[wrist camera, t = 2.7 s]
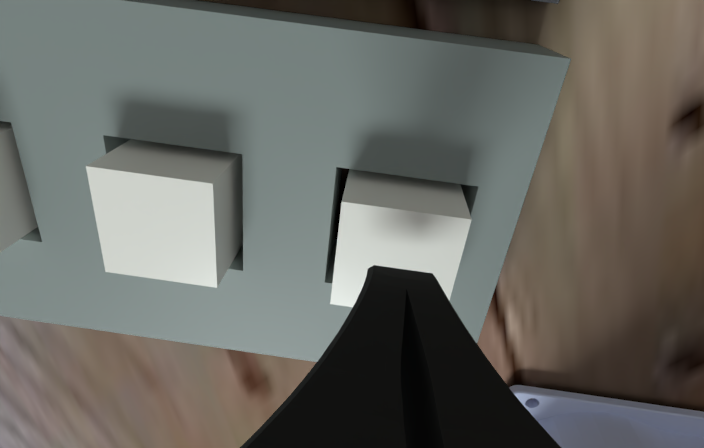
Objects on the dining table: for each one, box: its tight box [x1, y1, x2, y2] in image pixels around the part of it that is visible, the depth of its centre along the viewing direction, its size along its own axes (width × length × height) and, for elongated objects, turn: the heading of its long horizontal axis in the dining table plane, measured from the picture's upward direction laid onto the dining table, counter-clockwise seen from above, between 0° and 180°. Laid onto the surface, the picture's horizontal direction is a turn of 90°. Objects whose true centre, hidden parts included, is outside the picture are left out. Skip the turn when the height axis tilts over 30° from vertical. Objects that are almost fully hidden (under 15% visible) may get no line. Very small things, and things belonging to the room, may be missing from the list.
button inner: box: [330, 169, 472, 307], centre depth 12 cm, size 3×3×2 cm
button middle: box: [86, 139, 243, 288], centre depth 12 cm, size 3×3×2 cm
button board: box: [0, 0, 571, 362], centre depth 13 cm, size 18×10×2 cm, turn 84°
